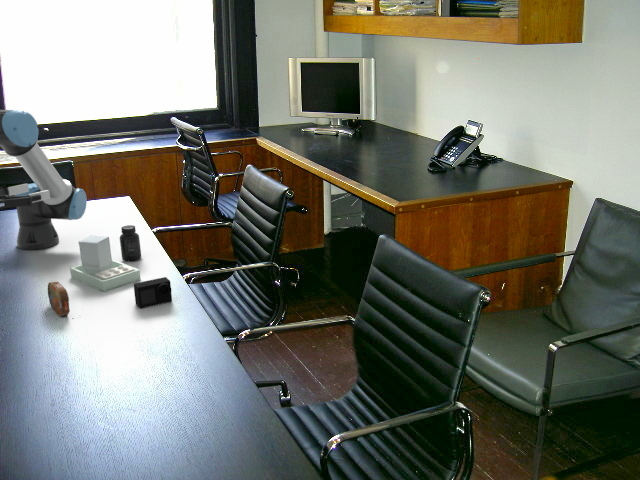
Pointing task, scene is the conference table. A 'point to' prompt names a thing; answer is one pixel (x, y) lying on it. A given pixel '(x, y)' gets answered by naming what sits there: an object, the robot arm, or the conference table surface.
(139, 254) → the supplement bottle
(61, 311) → the tin
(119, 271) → the egg carton
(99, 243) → the supplement box
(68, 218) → the robot arm
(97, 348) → the conference table surface
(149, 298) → the digital camera
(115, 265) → the pale green tray
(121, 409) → the conference table surface
